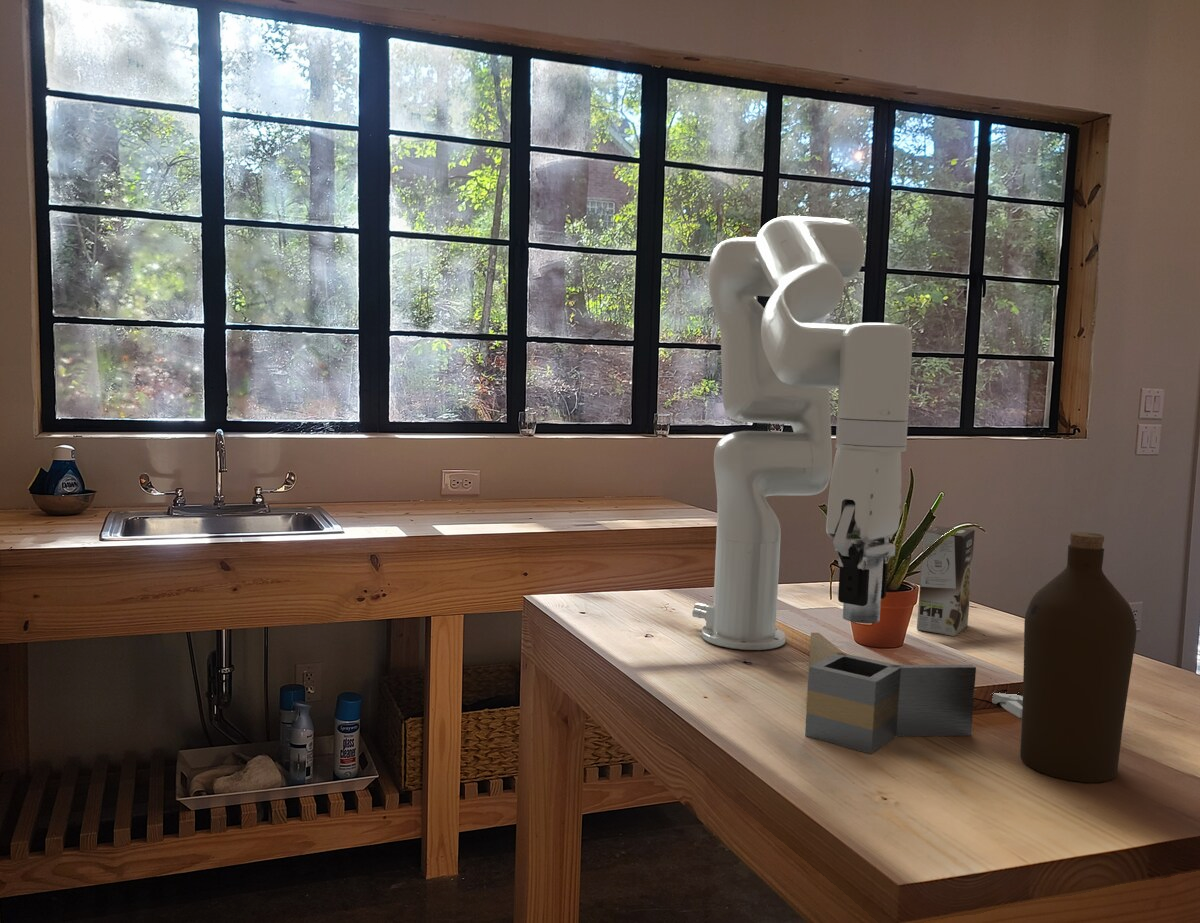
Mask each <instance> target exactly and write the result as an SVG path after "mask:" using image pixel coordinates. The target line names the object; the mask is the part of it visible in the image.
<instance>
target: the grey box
mask: <svg viewBox="0 0 1200 923" xmlns="http://www.w3.org/2000/svg"><path fill="white" fill-rule="evenodd" d="M808 658H809V659H808V674H807V675H808V676H807V692H806V694H807V695H806V696H807V697H806V698H807V699H806V715H805V732H804V734H805V735H804V736H805V737H808V738H812V739H815V740H817V741H821V742H822V741H823V742H826V743H830V744H834V745H837V746H840V747H843V748H847V749H850V750H855V751H859V752H862V753H866V754H869V755H872V754H874V753H875V752H876V751H878V750H879V749H880V748H882V747H883V746H885V745H886V744H888V743H889V742H890V741H892V740H893V739H894V738H896V737H943V736H944V737H949V736H950V737H951V736H953V737H955V736H962V737H963V736H965V737H966V736H967V737H968V736H972V726H973V713H974V702H975V701H974V700H975V699H974V690H976V688H975V686H976V674H977V667H976V666H975V665H973V664H894V663H891V662H890V663H889V662H886V661H880V660H875V659H871V658H868V657H862V656H859V655H854V654H849V653H845V652H844V651H842V650H841V649H840V648H838V647H837V646H836V645H835V644H834V643H832V642H831V641H830V640H828V639H827V638H826V637H825V636H823V635H822V634H821V633H820V632H810V643H809V657H808Z"/></svg>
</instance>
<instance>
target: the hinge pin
mask: <svg viewBox="0 0 1200 923" xmlns="http://www.w3.org/2000/svg"><path fill="white" fill-rule="evenodd" d="M857 539H858V540H861V538H857ZM852 546H855V547H856V548H857V551H858V553H859V551H860V546H857V545H852ZM834 548H835V547H834ZM834 551H835V552H837V549H836V548H835V550H834ZM837 553H838V552H837ZM895 555H896V545H895V544H894V543H892V542H890V543H888V542H886V543H881V542H877V541H870V543H869V547H868V548H866V557H867V564H866V568H865V569H868V570H869V587H868V603H867V605H865V606H858V605H853V604H847V603H843V605H842V607H843V608H842V619H843V620H846V621H847V622H851V623H858V624H877V623H879V622H880V621H881V606H882V604H881V602H882V599H881V590H882V573H883V558H884V557H889V558H891V557H895Z"/></svg>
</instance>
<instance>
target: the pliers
mask: <svg viewBox="0 0 1200 923" xmlns="http://www.w3.org/2000/svg"><path fill="white" fill-rule="evenodd" d="M993 693H994V692H993ZM993 693H992V694H993ZM992 697H993V698H992V703H991V704H994V705H997V704H998V703H999V705H1000V706H1001V707H1002V708H1003V709H1004V710H1006V711H1007V712H1008V713H1010V714H1012V715H1013V716H1015V717H1017V718H1018V719H1022V707H1023V695H1017V694H1006V693H1001V692H999V693H994V694H993V696H992Z"/></svg>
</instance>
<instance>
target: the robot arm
mask: <svg viewBox="0 0 1200 923" xmlns="http://www.w3.org/2000/svg"><path fill="white" fill-rule="evenodd" d="M865 251H866V250H865V242H864V238H863V235H862V233H861V232H860V229H859V228H858V227H857V226H856V225H855V223H852V221H849V220H847V219H843V218H835V217H819V216H805V215H784V216H783V215H782V216H778V217H776V218H773V219H771V220H769V221H768V222H766V223H765V224H764V225H762V227H761V228H760V230H759V231H758V233H757V235H756V236H741V237H740V236H739V237H732V238H727V239H726V240H722V241H721V242H719V243H718V244H717V245H716V246H715V248H714V249H713V251H712V253H711V256H710V259H709V266H708V290H709V295H710V300H711V304H712V307H713V311H714V314H715V316H716V319H717V324H718V327H719V331H720V332H719V334H720V352H721V353H720V354H721V355H720V356H721V359H720V360H721V363H720V364H721V387H722V388H721V392H722V404H723V407H724V412H725V414H726V415H727V417H729V419H731V420H734V421H737V422H742V423H751V424H754V423H757V424H782V425H785V424H787V425H790V426H791V428H792V431H793V432H792V431H791V432H789V431H774V430H772V431H771V430H767V431H766V430H741V431H734V432H731V433H728V434H726V435H723V437H721V438H720V439H719V441H718V442H717V444H716V445H715V448H714V453H713V472H714V479H715V487H716V507H717V510H716V539H715V540H716V541H715V542H716V543H715V558H714V559H715V562H714V586H713V603H712V604H707V603H702V602H696V603H695V604H694V605H693V606H694V607H693V609H692V612H691V613H692V617H693V618H698V619H704V621H705V625H704V626H703V627H702V628H701V637H702V639H704V640H705V641H706V642H707V643H709V644H712V645H715V646H718V647H723V648H728V649H734V650H743V651H744V650H745V651H762V650H765V651H766V650H773V649H777V648H779V647H782V646H784V645H785V643H786V634H785V632H784V631H783V630H781V629H779V628H777V626H776V625H777V610H778V594H779V593H778V589H779V576H780V575H779V574H780V573H779V572H780V570H779V569H780V557H781V556H780V554H781V534H782V532H781V523H780V521H779V517H778V516H777V514H776V513H775V512H774V510H773V508H772V507H771V506H770V504H769V503H768V501H767V498H766V497H770V496H771V497H772V496H773V497H774V496H798V497H799V496H814V495H815V496H816V495H819V494H821V493H822V492H824V491H825V490H826V489H827V487H828V485H829V492H828V499H827V500H828V502H827V510H826V511H827V512H826V521H825V522H826V523H825V532H826V534H827V536H828V537H829V538H831V539H833V546H834V548H836V549H837V554H838V561H837V562H838V566H839V576H838V578H839V579H838V592H837V594H838V595H837V599H838V601H839V603H847V604H853V605H858V606H865V605H867V603H868V587H869V570H868V569H865V568H866V564H867V557H866V548H868V547H869V543H870V541H877V542H881V543H886V542H888V543H892V539H893V537H894V535H895V534H896V533H897V531H898V530H899V527H900V521H901V520H900V519H901V507H902V454H901V453H905V452H907V443H908V439H907V437H908V424H909V423H908V421H909V405H910V389H911V373H912V372H911V371H912V359H913V358H912V357H913V355H912V354H913V334H912V332H911V330H910V329H909V328H908V327H907V326H906V325H903V324H899V323H893V322H892V323H890V322H857V323H852V324H847V323H828V322H826V323H825V322H816V321H818V320H820V319H822V318H824V317H826V316H827V315H829V314H831V313H832V312H833V311H834V309H835V308H836V307H837V306H838V305H839V303H840V302H841V299H842V298H843V295H844V291H845V285H846V284H848V283H850V281H853V280H854V278H855V277H857V275H859V272H860V271H861V269H862V266H863V263H864V260H865ZM758 296H759V297H769V298H768V301H767V302H766V304H765V307H763V305H762V304H761V303H759V301H758V300H757V299H756V298H755V297H758ZM830 389H838V395H837V410H836V411H837V414H836V431H835V432H836V434H835V449H836V451H835V455H834V459H833V447H832V446H833V445H832V423H831V422H832V421H831V420H832V419H831V418H832V417H831V416H832V415H831V397H830V396H831V395H830ZM852 535H856V536H858V537H859V538H851V537H852ZM858 539H861V540H858ZM852 545H857V546H860V551H859V553H858V551H857V548H856V547H855V546H852ZM889 560H890V557H884V558H883V573H882V590H881V600H883V599H885V598H886V597H887V581H888V580H887V579H888V563H889Z"/></svg>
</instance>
